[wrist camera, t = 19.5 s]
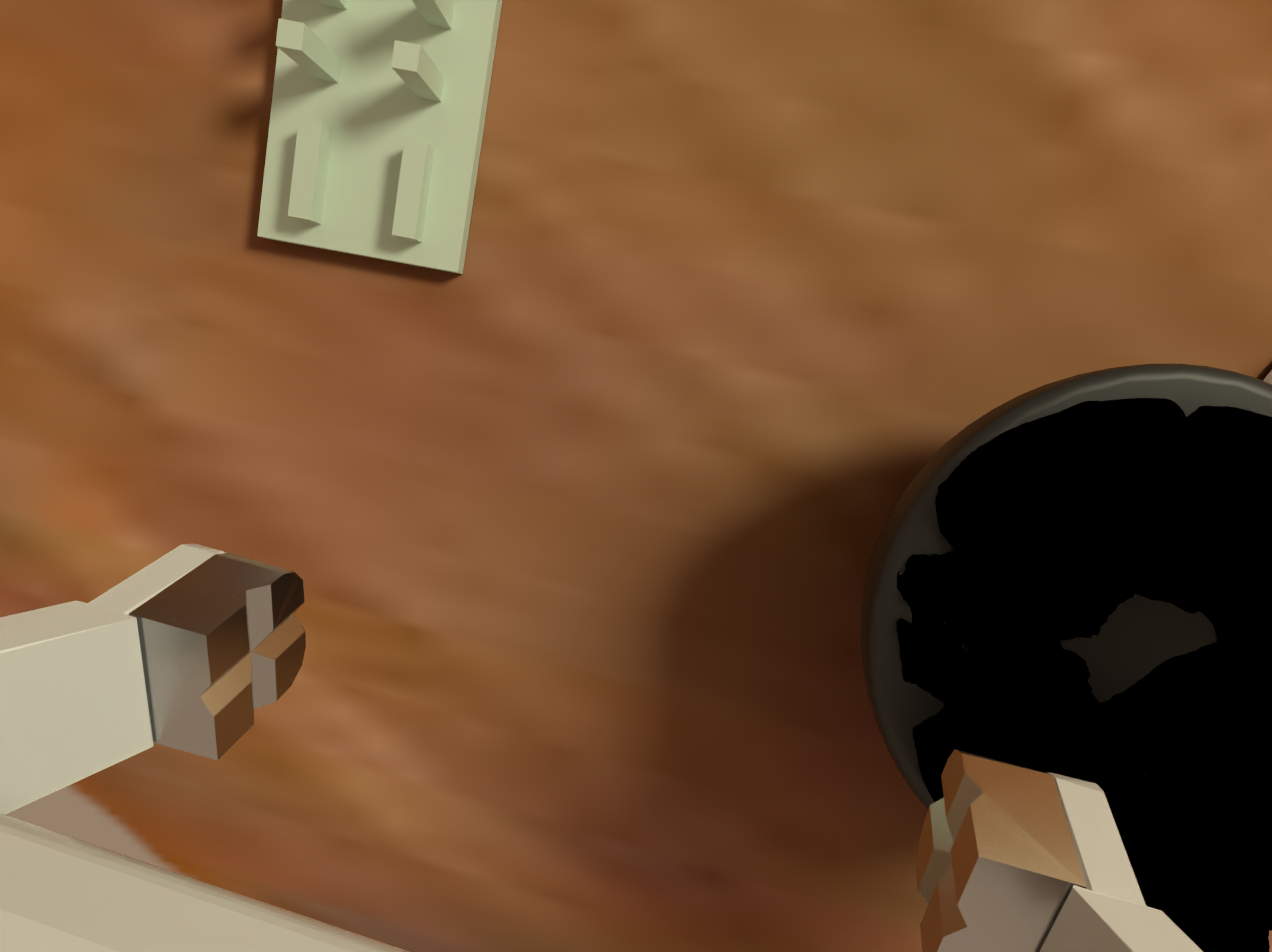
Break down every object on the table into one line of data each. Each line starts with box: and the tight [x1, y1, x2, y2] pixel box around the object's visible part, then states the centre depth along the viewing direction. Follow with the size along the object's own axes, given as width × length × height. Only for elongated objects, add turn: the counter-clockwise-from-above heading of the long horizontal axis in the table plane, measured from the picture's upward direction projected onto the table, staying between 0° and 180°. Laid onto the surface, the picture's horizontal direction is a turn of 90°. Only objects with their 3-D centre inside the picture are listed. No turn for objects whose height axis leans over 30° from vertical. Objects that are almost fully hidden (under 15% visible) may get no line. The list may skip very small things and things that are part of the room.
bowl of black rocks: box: [861, 364, 1272, 952], centre depth 31 cm, size 20×20×19 cm
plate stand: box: [257, 0, 502, 274], centre depth 35 cm, size 9×12×5 cm
